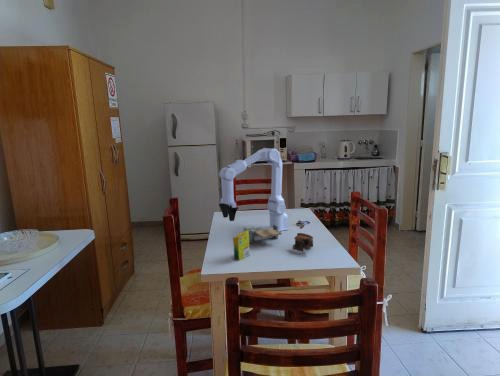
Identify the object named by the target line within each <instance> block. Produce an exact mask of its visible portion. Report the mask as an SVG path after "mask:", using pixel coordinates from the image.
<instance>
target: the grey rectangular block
mask: <svg viewBox="0 0 500 376" xmlns="http://www.w3.org/2000/svg"><path fill="white" fill-rule="evenodd" d="M251 229H255V227H254V226H252V225H247V226H243V232H244V231H247V230H251ZM252 238H255V237H252Z"/></svg>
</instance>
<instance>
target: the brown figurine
mask: <svg viewBox="0 0 500 376" xmlns="http://www.w3.org/2000/svg"><path fill="white" fill-rule="evenodd" d="M313 239H314V237H313V235H310V234H307V233H302V232H298V233H297V235H296V236H295V237H294V244H292V251H293V250H296V251H297V252H301V253H303V252H304V250H305V251H308V250H310V248H313V247H314V240H313Z"/></svg>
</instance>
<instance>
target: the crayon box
mask: <svg viewBox="0 0 500 376" xmlns="http://www.w3.org/2000/svg"><path fill="white" fill-rule="evenodd" d="M232 239H233V256H234V258H233V260H235V261H241V260H243V259H245V258H247V257H249V256H250V245H249V230H247V231H244V230H243V231H242V232H239V233H237V235H236V236H234V237H233V238H232Z"/></svg>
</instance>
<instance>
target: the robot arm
mask: <svg viewBox="0 0 500 376" xmlns="http://www.w3.org/2000/svg"><path fill="white" fill-rule="evenodd" d="M260 160H261V161H262V160H263V161H265V162H267V163H268V164H269V165H270V166H271V187H270V188H271V189H270V190H271V192H270V194H271V195H270V196H269V197H268V202H267V204H266V205H267V206H266V207H267V210H268V212H269V227H267V228H273V225H276V226H278V231H279V232H282V231H287V230H290V228H289V216H288V213H286V212H285V211H286V204H285V199H284V198H283V196H282V194H283V193H282V191H283V189H282V186H283V160H282V158H281V152H280V151H278V149H276V148H268V147H263V148H262V149H258V150H257V151H256V152H255V153H253V154H251V155H250V156H248V157H247V158H244V160H243V159H236V160H235V162H233V163H230V164H228V165H227V166H226V167H224V166H223V167H222V168H221V169H220V171H219V173H218V175H219V176H218V177H220V178H221V179H220V180H221V198H220V201H219V203H218V207H220V211H221V213H222V214H221V215H222V217H223V218H228V220H229V222H234V221H235V219H236V214H237V211H238V209H239V206H237V203H236V201H235V198H234V197H235V195H234V193H235V192H234V179H235V177H237V175H240V174H241V173H243V172H245V171H246V170H247V167H248V166H250V165H252V164H254V163H256V162H258V161H260Z"/></svg>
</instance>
